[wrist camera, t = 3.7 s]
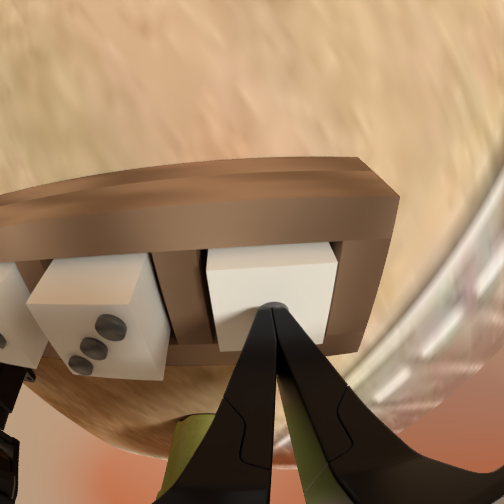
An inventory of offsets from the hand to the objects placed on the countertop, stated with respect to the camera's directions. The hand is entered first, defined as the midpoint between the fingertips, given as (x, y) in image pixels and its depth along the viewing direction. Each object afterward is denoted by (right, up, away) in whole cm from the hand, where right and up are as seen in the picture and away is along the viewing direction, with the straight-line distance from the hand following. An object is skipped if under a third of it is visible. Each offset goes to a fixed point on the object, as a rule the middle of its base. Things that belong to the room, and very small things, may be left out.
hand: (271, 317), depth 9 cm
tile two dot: (-11, 0, +1) cm, 11 cm away
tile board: (-6, +2, +3) cm, 7 cm away
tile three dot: (-6, +1, +1) cm, 6 cm away
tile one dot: (0, +2, +2) cm, 3 cm away
